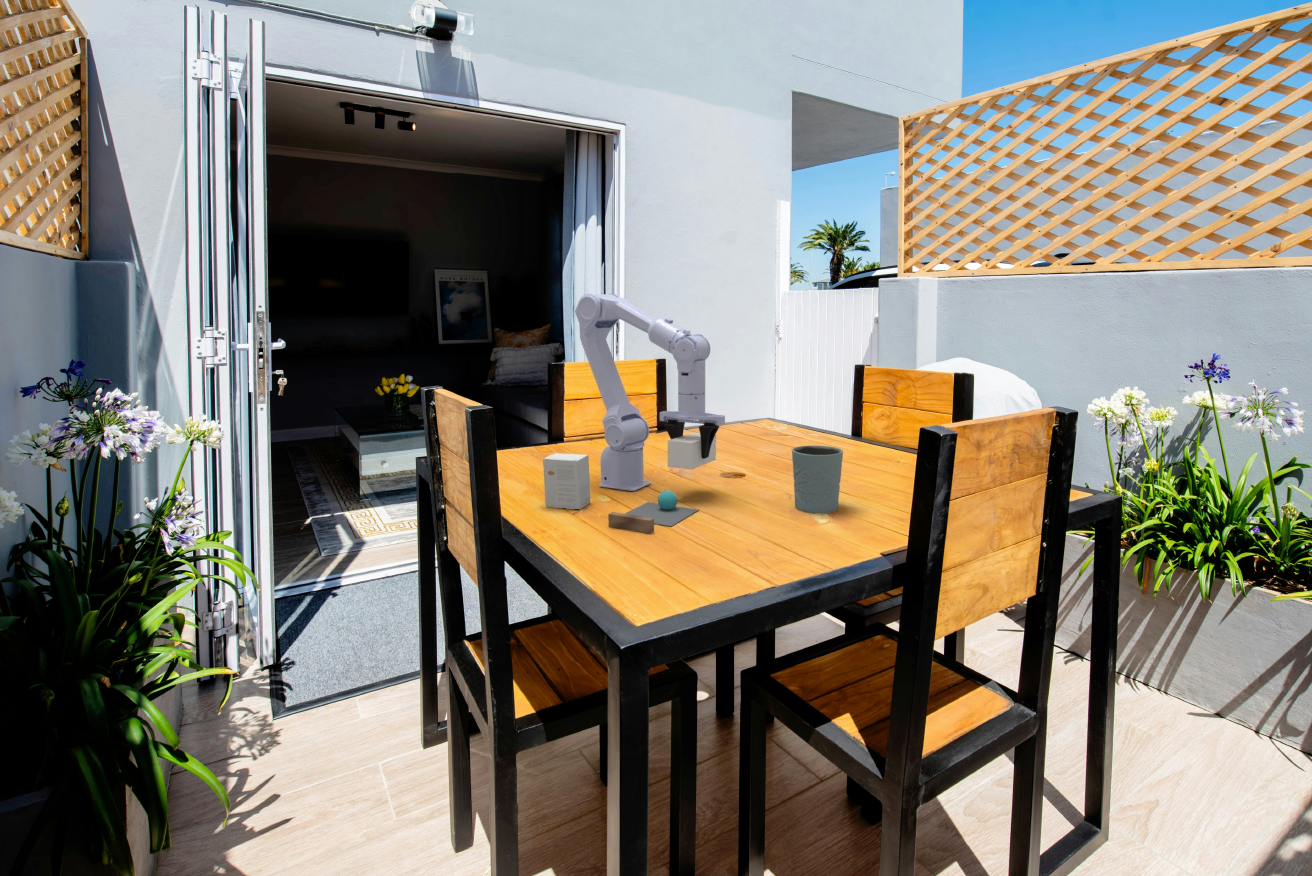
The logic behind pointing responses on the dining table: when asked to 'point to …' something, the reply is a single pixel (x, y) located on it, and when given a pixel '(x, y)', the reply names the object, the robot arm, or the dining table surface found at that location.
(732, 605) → the dining table surface
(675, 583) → the dining table surface
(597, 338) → the robot arm
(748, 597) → the dining table surface
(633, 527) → the brown rectangular bar
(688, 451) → the white rectangular block
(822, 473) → the grey green tumbler
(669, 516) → the thin grey square plate
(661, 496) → the ball
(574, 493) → the small box
